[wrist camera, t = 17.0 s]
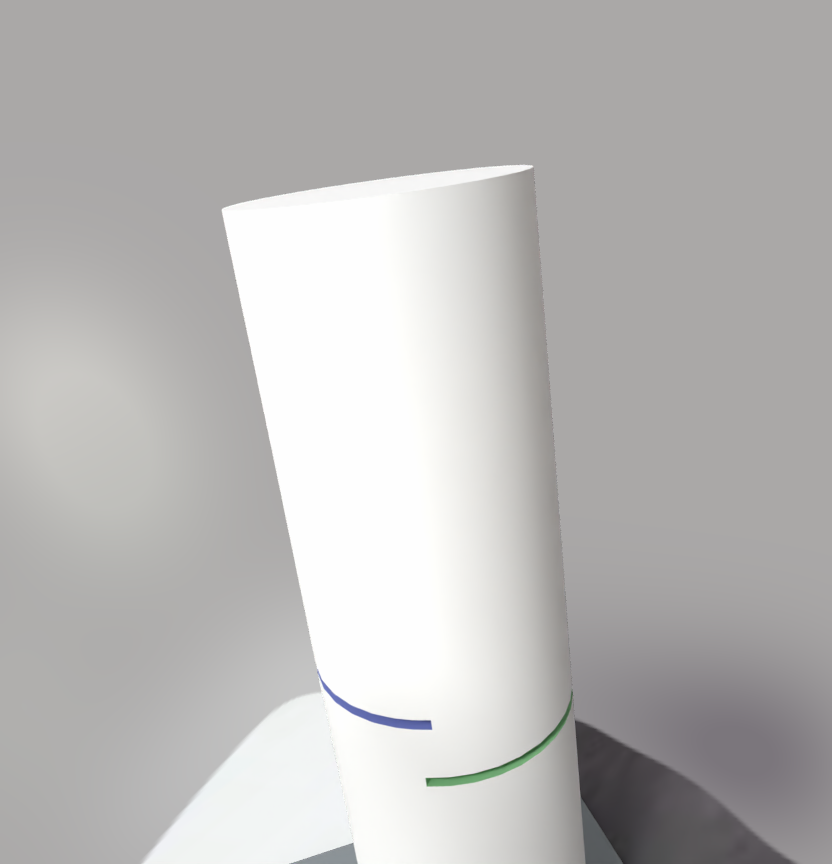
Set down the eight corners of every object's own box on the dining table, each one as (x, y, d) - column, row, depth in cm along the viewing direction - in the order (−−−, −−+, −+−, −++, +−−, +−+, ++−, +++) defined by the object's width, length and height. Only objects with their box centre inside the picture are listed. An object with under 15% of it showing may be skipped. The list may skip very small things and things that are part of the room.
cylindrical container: (420, 844, 31) (309, 187, 23) (605, 882, 29) (559, 157, 20) (346, 1029, 25) (155, 222, 17) (573, 1098, 23) (487, 185, 14)
